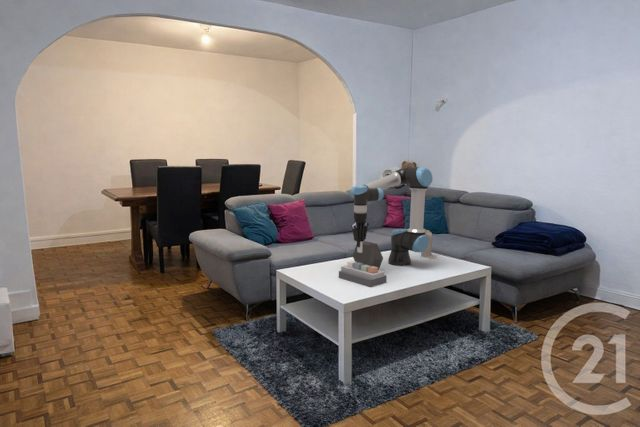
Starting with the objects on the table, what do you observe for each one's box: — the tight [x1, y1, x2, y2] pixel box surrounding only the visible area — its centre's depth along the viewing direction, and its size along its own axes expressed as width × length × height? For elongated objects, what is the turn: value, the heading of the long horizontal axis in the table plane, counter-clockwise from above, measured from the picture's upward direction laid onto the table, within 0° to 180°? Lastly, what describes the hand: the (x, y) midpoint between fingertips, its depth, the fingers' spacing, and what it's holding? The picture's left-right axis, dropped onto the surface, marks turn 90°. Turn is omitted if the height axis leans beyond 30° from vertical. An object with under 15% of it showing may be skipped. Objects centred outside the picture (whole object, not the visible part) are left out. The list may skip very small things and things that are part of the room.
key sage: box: [361, 265, 371, 272], centre depth 262 cm, size 4×4×3 cm
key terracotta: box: [368, 266, 378, 274], centre depth 258 cm, size 4×4×3 cm
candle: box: [420, 228, 438, 259], centre depth 320 cm, size 7×14×20 cm, turn 42°
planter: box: [352, 241, 384, 271], centre depth 284 cm, size 17×8×21 cm
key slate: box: [354, 263, 364, 270], centre depth 266 cm, size 4×4×3 cm
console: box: [338, 264, 387, 288], centre depth 264 cm, size 14×25×6 cm, turn 42°
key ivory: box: [346, 260, 357, 268], centre depth 270 cm, size 4×4×3 cm
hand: (359, 252), depth 264 cm, fingers closed
